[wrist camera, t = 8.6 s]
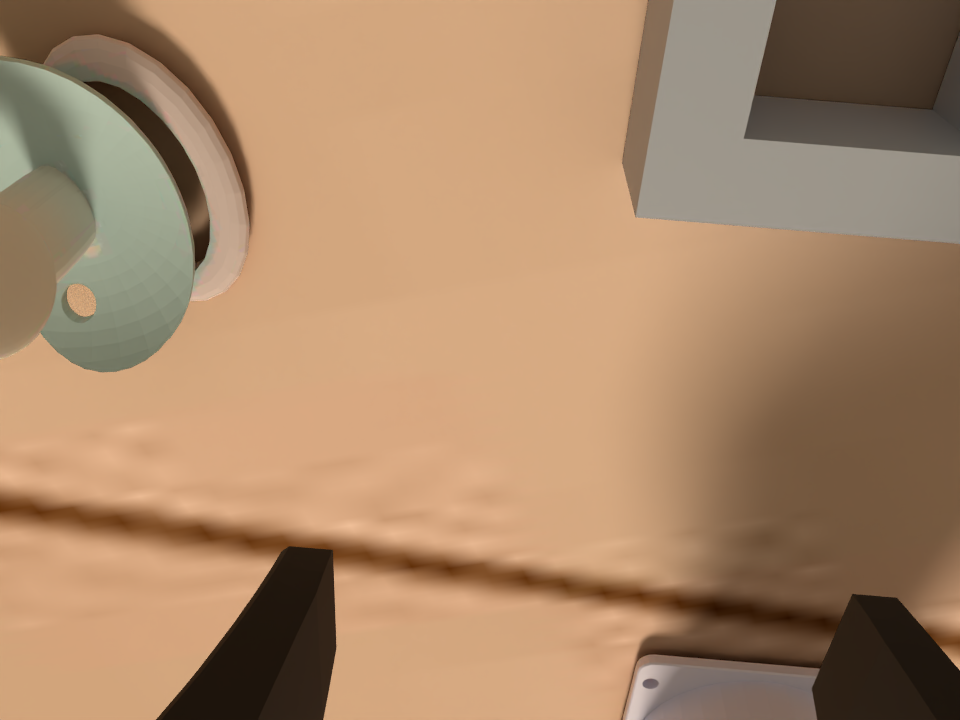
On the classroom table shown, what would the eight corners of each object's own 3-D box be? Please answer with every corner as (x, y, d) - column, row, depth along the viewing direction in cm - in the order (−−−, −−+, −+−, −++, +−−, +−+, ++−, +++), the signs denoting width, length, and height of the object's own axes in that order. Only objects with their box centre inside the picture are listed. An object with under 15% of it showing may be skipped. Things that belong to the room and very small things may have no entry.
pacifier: (166, -19, 18) (-81, 61, 19) (28, 53, 13) (-306, 158, 14) (300, 284, 22) (87, 337, 23) (235, 436, 16) (-38, 497, 17)
